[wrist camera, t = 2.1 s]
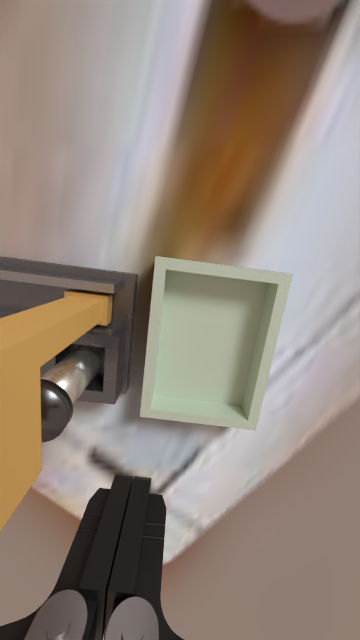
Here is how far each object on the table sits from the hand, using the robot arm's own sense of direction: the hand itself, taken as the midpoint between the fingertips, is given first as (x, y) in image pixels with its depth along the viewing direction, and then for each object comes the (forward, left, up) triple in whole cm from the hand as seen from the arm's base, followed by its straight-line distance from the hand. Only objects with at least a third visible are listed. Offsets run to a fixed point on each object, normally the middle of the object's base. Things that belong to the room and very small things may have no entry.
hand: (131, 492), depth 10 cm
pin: (+1, -8, -16) cm, 17 cm away
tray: (-2, +4, -17) cm, 18 cm away
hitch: (-1, -11, -17) cm, 20 cm away
